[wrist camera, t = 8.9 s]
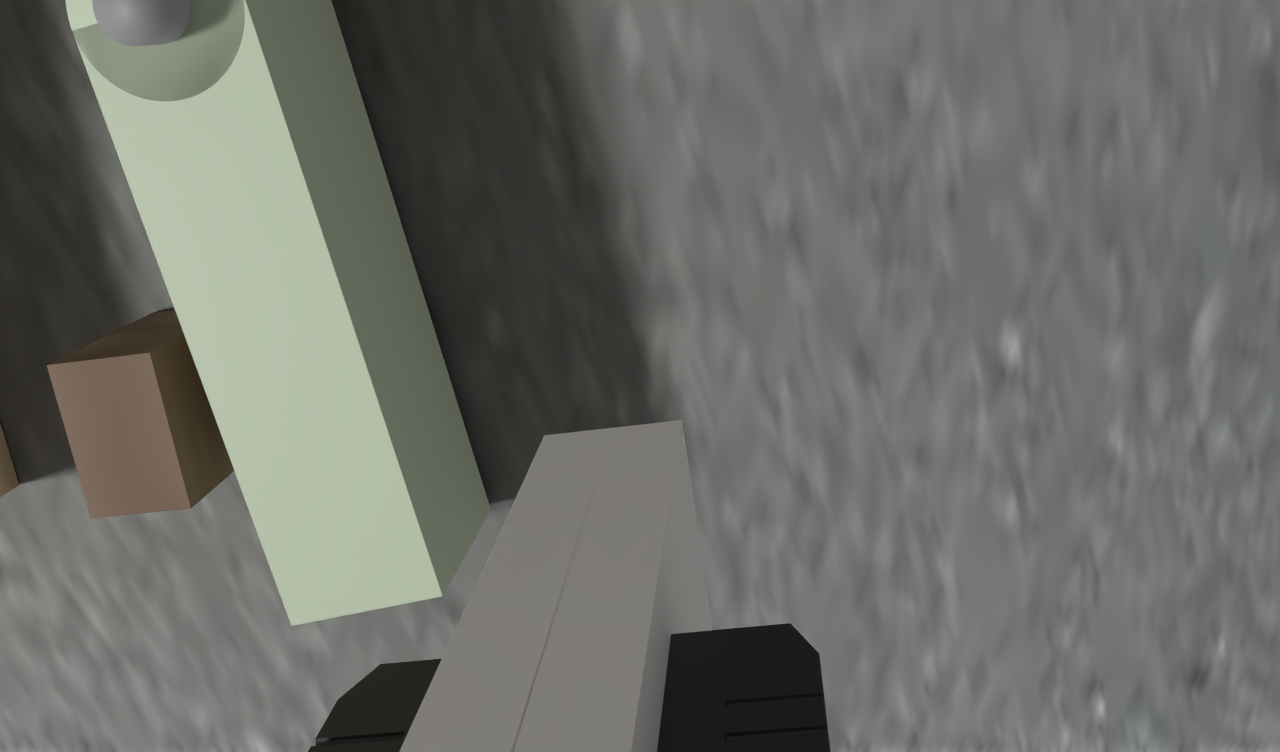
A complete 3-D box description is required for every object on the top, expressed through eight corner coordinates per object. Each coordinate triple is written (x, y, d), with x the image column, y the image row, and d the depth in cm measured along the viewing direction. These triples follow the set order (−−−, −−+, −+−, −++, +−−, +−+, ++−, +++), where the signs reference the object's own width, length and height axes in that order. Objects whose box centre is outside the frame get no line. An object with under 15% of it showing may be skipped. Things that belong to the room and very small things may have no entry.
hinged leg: (157, -52, 23) (7, -68, 19) (301, -97, 23) (183, -123, 18) (360, 536, 26) (274, 647, 22) (490, 509, 26) (430, 617, 21)
